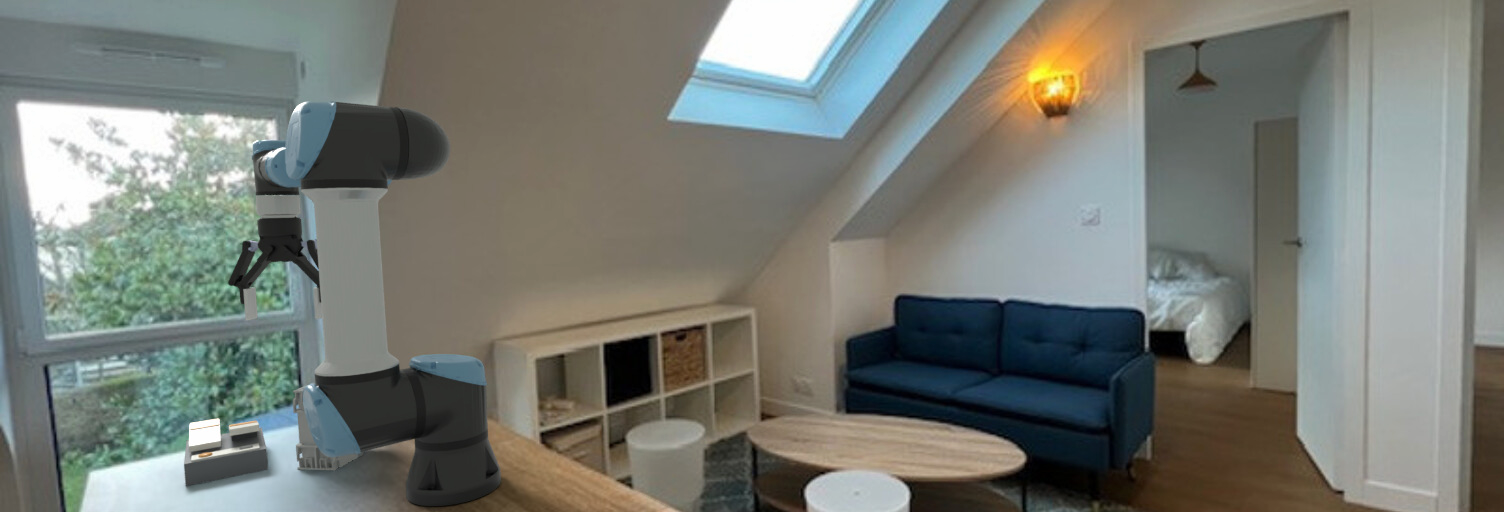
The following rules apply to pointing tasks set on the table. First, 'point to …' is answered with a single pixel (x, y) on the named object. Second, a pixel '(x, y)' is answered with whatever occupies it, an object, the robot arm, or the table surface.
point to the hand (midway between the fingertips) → (286, 318)
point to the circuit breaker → (313, 443)
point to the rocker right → (243, 428)
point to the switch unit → (226, 458)
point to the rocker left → (204, 435)
